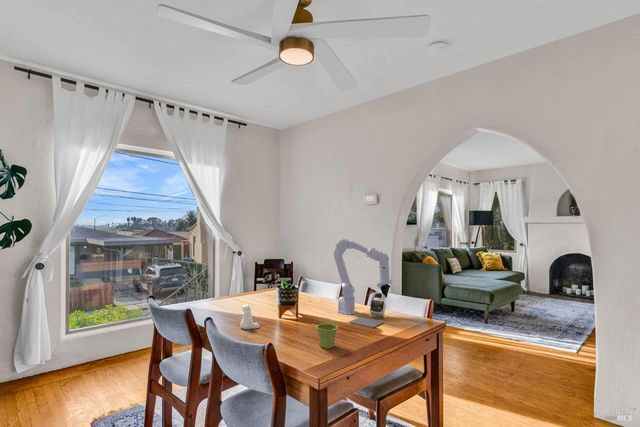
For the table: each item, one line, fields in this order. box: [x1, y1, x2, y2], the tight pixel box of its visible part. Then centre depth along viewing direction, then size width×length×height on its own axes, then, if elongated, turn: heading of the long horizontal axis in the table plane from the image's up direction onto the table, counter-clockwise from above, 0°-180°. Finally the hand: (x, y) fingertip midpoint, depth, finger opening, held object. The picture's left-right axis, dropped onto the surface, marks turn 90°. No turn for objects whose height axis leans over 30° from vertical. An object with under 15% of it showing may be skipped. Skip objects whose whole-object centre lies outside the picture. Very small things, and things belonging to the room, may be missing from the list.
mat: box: [348, 316, 385, 329], centre depth 188 cm, size 15×12×1 cm
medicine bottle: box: [369, 292, 387, 318], centre depth 200 cm, size 7×7×12 cm
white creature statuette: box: [239, 303, 260, 330], centre depth 180 cm, size 10×9×12 cm
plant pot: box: [316, 323, 339, 349], centre depth 153 cm, size 9×9×9 cm
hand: (385, 297), depth 204 cm, fingers closed, pressing on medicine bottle
